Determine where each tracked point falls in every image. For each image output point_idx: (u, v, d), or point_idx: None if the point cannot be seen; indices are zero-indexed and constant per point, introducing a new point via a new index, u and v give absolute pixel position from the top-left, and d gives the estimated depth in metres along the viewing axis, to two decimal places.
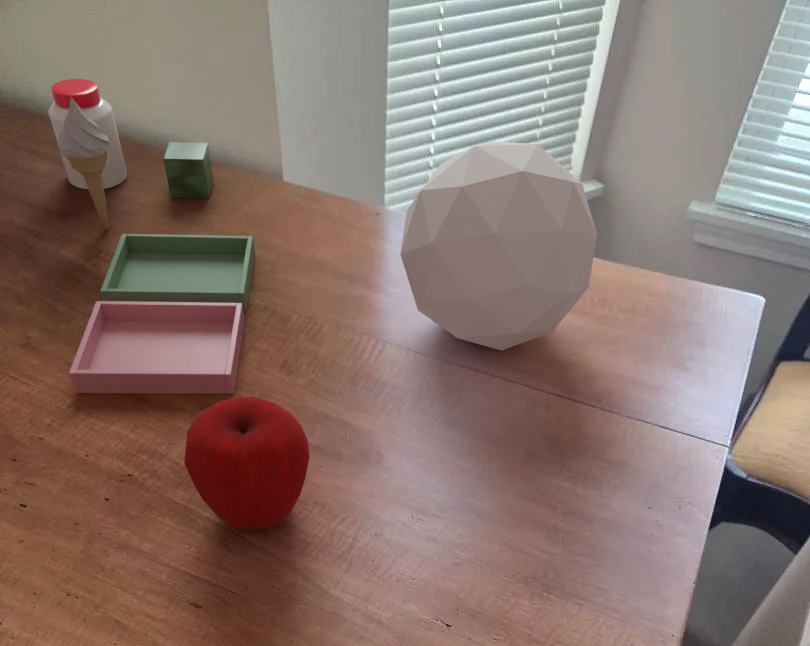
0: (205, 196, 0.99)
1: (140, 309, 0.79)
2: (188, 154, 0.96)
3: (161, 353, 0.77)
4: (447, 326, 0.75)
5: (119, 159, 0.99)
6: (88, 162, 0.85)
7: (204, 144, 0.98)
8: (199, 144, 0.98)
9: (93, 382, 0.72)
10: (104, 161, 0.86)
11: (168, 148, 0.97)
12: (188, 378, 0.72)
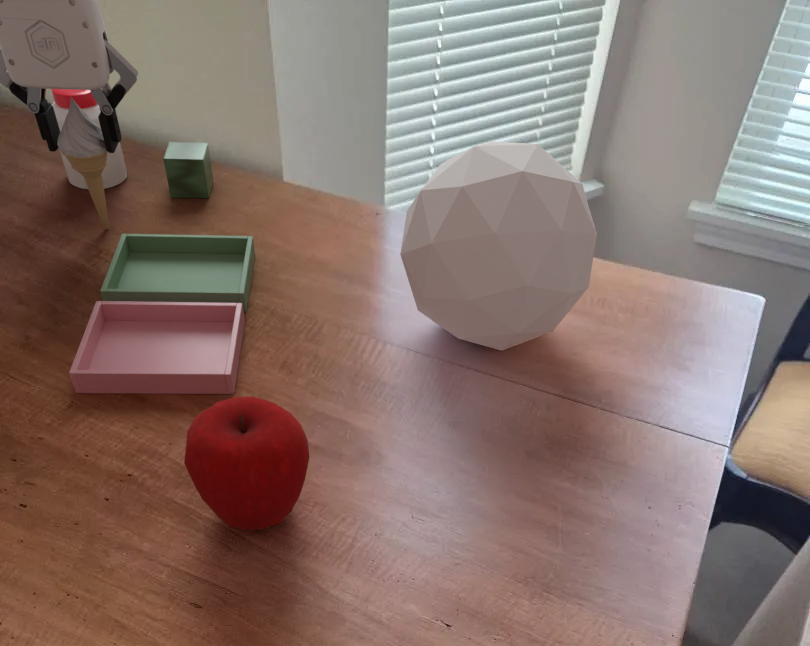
0: (205, 196, 0.99)
1: (140, 309, 0.79)
2: (188, 154, 0.96)
3: (161, 353, 0.77)
4: (447, 326, 0.75)
5: (119, 159, 0.99)
6: (88, 162, 0.85)
7: (204, 144, 0.98)
8: (199, 144, 0.98)
9: (93, 382, 0.72)
10: (104, 161, 0.86)
11: (168, 148, 0.97)
12: (188, 378, 0.72)
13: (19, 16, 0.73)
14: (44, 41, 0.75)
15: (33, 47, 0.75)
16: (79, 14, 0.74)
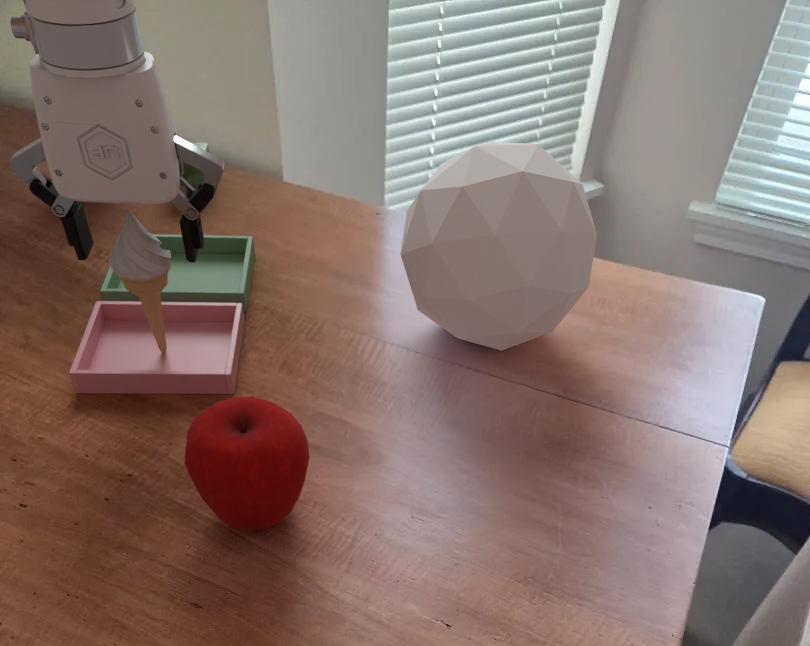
0: None
1: (140, 309, 0.79)
2: None
3: (161, 353, 0.77)
4: (447, 326, 0.75)
5: None
6: (147, 284, 0.69)
7: (204, 144, 0.98)
8: (199, 144, 0.98)
9: (93, 382, 0.72)
10: (165, 280, 0.70)
11: None
12: (188, 378, 0.72)
13: (71, 120, 0.57)
14: (102, 148, 0.59)
15: (87, 156, 0.59)
16: (147, 117, 0.58)
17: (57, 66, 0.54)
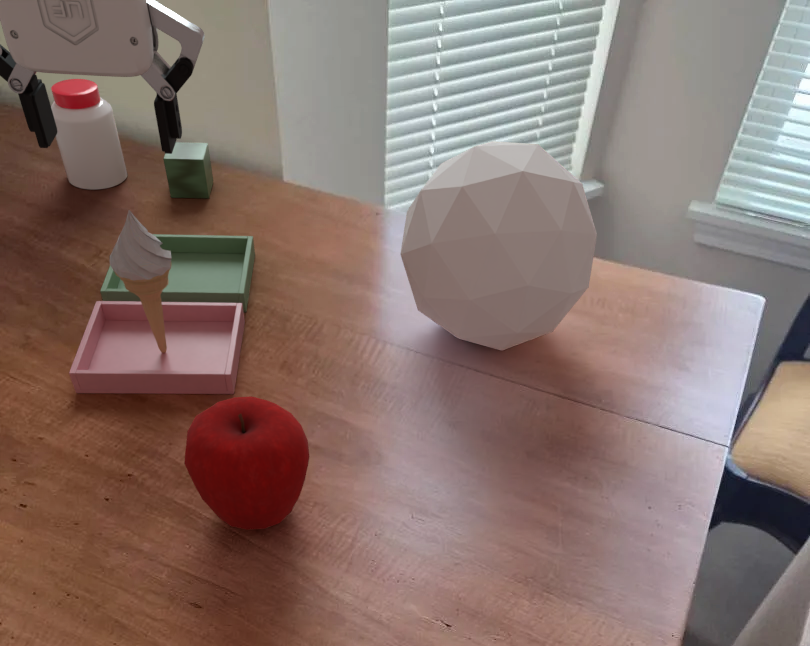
0: (205, 196, 0.99)
1: (140, 309, 0.79)
2: (188, 154, 0.96)
3: (161, 353, 0.77)
4: (447, 326, 0.75)
5: (119, 159, 0.99)
6: (147, 284, 0.69)
7: (204, 144, 0.98)
8: (199, 144, 0.98)
9: (93, 382, 0.72)
10: (165, 280, 0.70)
11: None
12: (188, 378, 0.72)
13: None
14: (63, 4, 0.52)
15: (46, 13, 0.52)
16: None
17: None
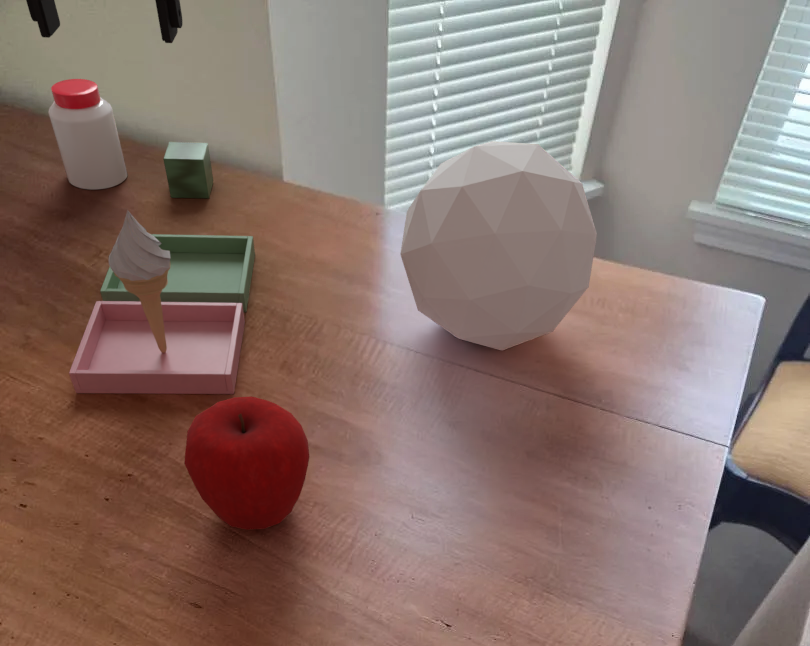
0: (205, 196, 0.99)
1: (140, 309, 0.79)
2: (188, 154, 0.96)
3: (161, 353, 0.77)
4: (447, 326, 0.75)
5: (119, 159, 0.99)
6: (146, 284, 0.69)
7: (204, 144, 0.98)
8: (199, 144, 0.98)
9: (93, 382, 0.72)
10: (165, 281, 0.70)
11: (168, 148, 0.97)
12: (188, 378, 0.72)
13: None
14: None
15: None
16: None
17: None
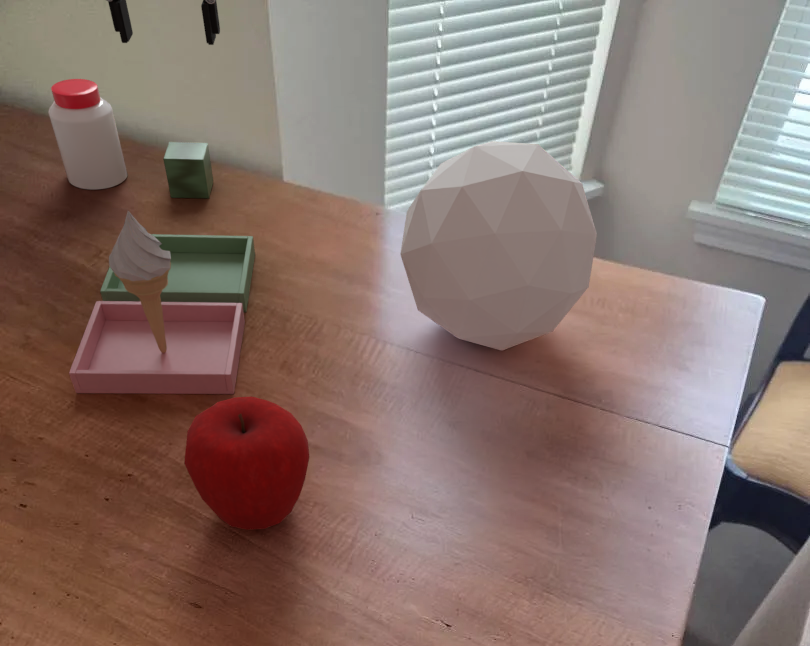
0: (205, 196, 0.99)
1: (140, 309, 0.79)
2: (188, 154, 0.96)
3: (161, 353, 0.77)
4: (447, 326, 0.75)
5: (119, 159, 0.99)
6: (147, 285, 0.69)
7: (204, 144, 0.98)
8: (199, 144, 0.98)
9: (93, 382, 0.72)
10: (165, 281, 0.70)
11: (168, 148, 0.97)
12: (188, 378, 0.72)
13: None
14: None
15: None
16: None
17: None
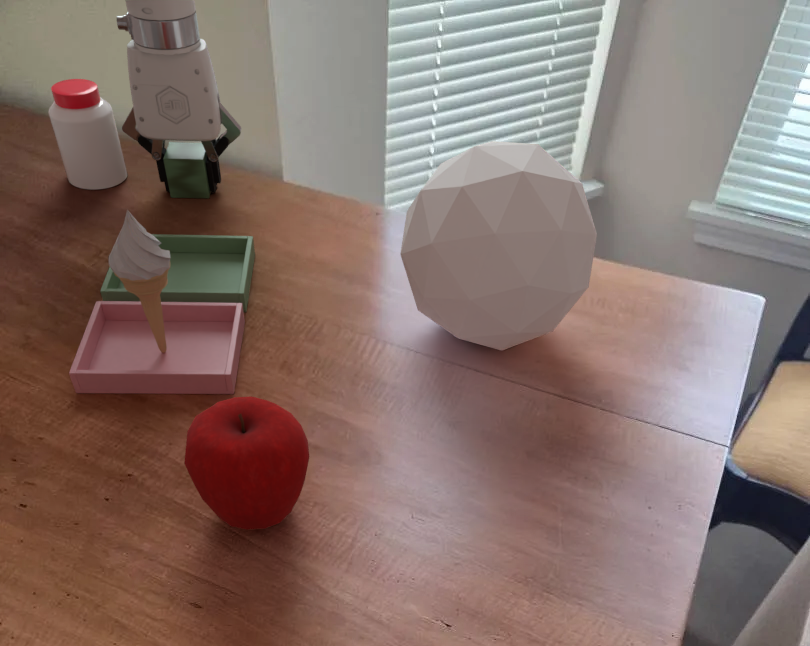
0: (205, 196, 0.99)
1: (140, 309, 0.79)
2: (188, 154, 0.96)
3: (161, 353, 0.77)
4: (447, 326, 0.75)
5: (119, 159, 0.99)
6: (146, 284, 0.69)
7: None
8: (199, 144, 0.98)
9: (93, 382, 0.72)
10: (165, 280, 0.70)
11: (168, 148, 0.97)
12: (188, 378, 0.72)
13: (152, 83, 0.88)
14: (171, 102, 0.90)
15: (161, 107, 0.90)
16: (201, 81, 0.88)
17: (146, 47, 0.85)
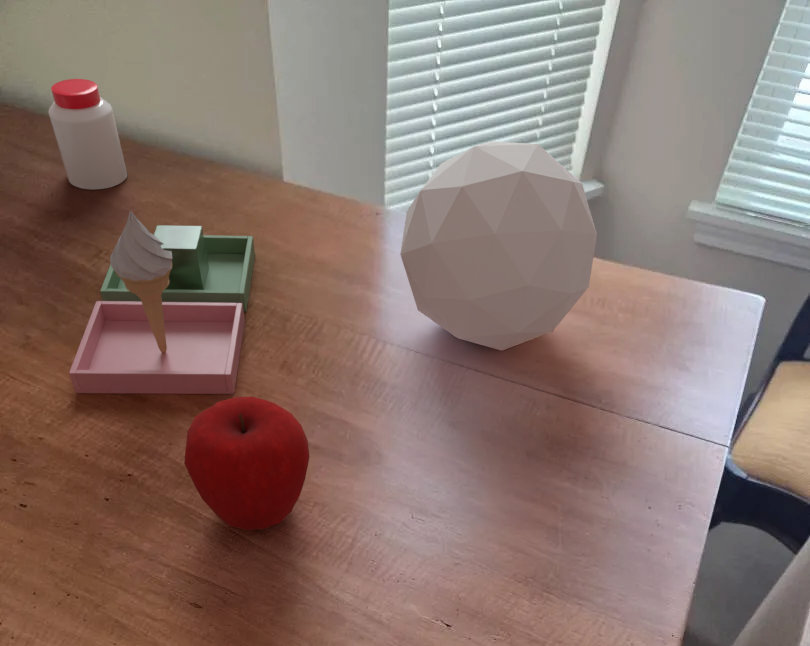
0: (199, 288, 0.84)
1: (140, 309, 0.79)
2: (178, 242, 0.81)
3: (161, 353, 0.77)
4: (447, 326, 0.75)
5: (119, 159, 0.99)
6: (148, 284, 0.69)
7: (198, 228, 0.84)
8: (192, 228, 0.83)
9: (93, 382, 0.72)
10: (166, 281, 0.70)
11: (155, 234, 0.82)
12: (188, 378, 0.72)
13: None
14: None
15: None
16: None
17: None
